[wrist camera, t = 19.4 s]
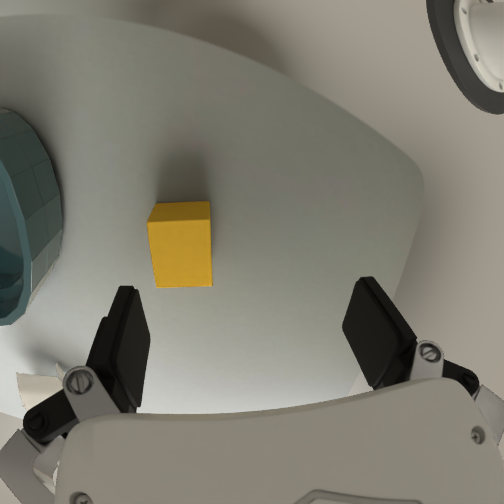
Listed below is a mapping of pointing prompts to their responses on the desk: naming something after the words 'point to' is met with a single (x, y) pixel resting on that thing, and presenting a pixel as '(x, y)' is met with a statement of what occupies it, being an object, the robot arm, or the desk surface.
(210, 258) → the yellow block
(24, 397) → the figurine
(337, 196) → the desk surface
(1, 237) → the bowl
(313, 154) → the desk surface
